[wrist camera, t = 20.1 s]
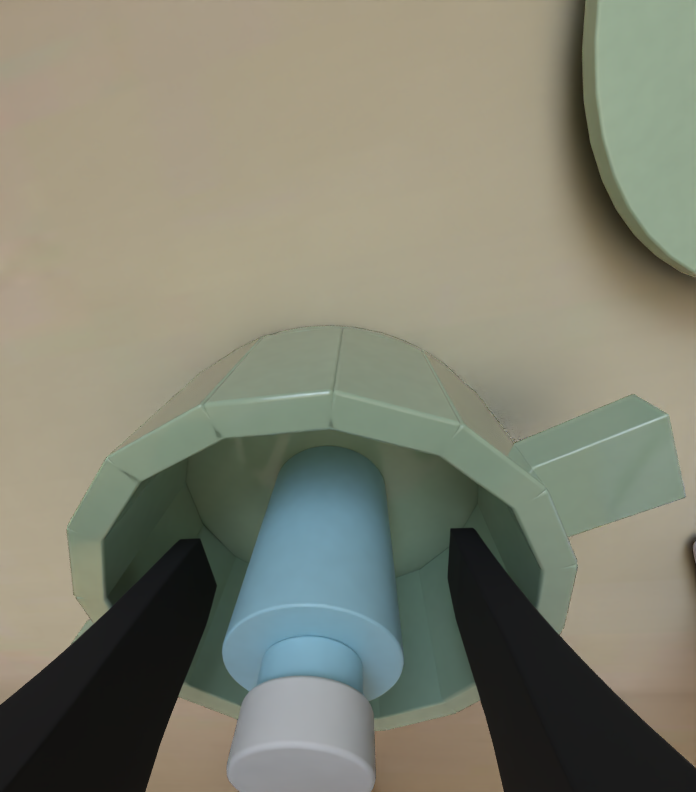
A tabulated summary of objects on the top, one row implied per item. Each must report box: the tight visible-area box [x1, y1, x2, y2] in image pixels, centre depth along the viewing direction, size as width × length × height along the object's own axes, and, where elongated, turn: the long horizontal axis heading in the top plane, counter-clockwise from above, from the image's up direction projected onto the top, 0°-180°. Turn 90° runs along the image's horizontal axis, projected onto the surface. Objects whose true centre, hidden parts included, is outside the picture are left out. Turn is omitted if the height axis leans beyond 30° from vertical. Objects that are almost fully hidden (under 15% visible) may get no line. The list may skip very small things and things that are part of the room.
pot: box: [67, 326, 686, 731], centre depth 11 cm, size 12×17×5 cm
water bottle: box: [222, 446, 404, 792], centre depth 9 cm, size 4×4×7 cm
